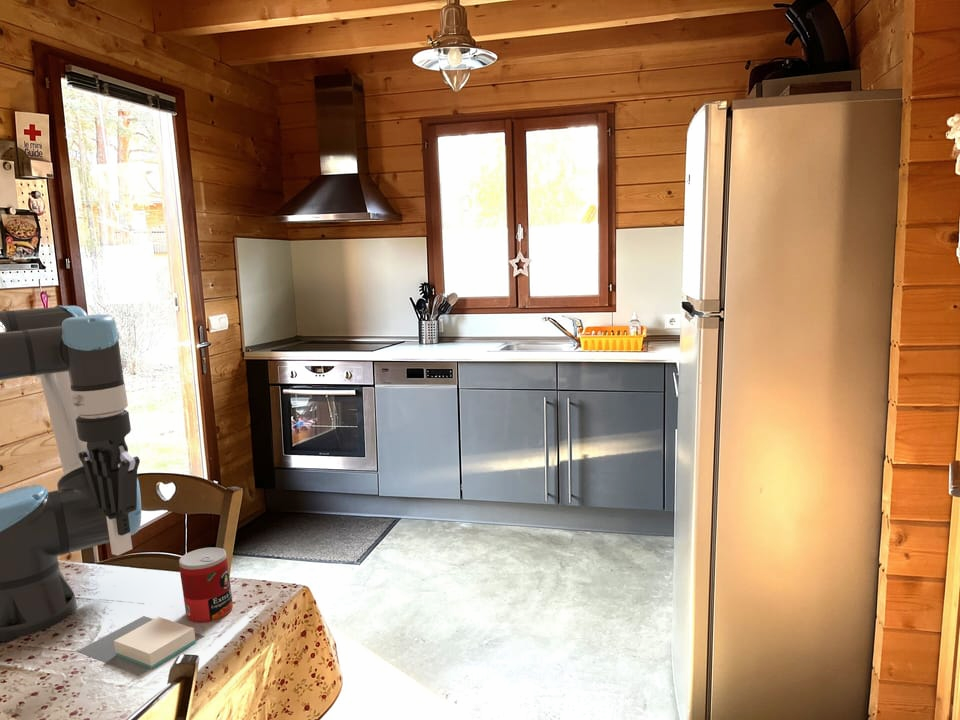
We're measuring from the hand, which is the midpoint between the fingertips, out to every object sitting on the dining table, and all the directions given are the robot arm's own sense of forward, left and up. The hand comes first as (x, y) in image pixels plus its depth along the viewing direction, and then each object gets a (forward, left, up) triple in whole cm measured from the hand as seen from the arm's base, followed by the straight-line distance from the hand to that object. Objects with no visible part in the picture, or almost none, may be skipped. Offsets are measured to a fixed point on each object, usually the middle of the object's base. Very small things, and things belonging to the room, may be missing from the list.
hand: (122, 551), depth 117 cm
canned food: (+6, +11, -16) cm, 20 cm away
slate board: (+4, -1, -15) cm, 16 cm away
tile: (+3, -1, -13) cm, 14 cm away
